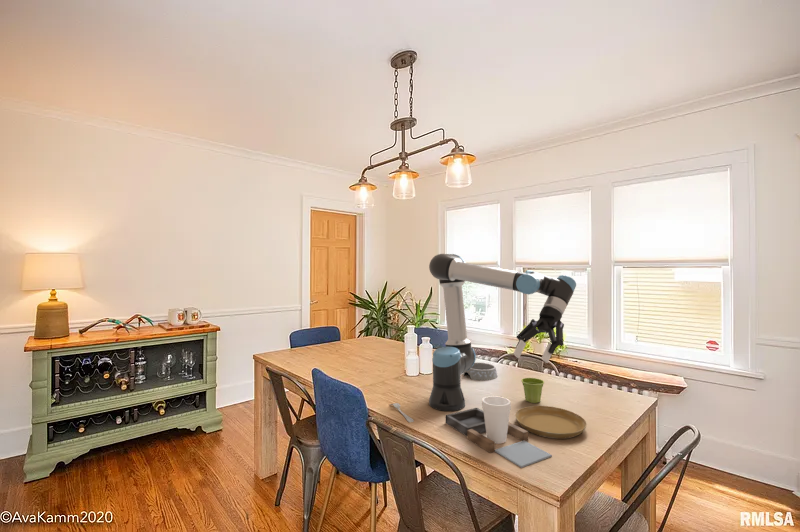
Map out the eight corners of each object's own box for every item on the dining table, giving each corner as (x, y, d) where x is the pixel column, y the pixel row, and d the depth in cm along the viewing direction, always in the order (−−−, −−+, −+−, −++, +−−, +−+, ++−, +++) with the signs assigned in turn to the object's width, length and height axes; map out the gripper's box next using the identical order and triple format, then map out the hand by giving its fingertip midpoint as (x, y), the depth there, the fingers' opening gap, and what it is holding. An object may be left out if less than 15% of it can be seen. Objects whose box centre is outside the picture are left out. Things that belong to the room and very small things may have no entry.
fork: (408, 429, 138) (408, 422, 138) (387, 405, 157) (388, 398, 157) (415, 428, 139) (415, 421, 139) (394, 404, 158) (394, 397, 158)
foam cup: (480, 442, 122) (479, 403, 122) (484, 431, 130) (484, 394, 130) (509, 447, 118) (509, 407, 118) (512, 435, 127) (511, 397, 127)
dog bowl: (483, 369, 210) (482, 360, 210) (504, 378, 193) (504, 368, 193) (457, 373, 203) (457, 363, 203) (477, 382, 187) (477, 372, 187)
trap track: (443, 423, 137) (443, 415, 137) (478, 414, 145) (478, 407, 145) (489, 452, 115) (489, 443, 115) (528, 440, 123) (528, 431, 123)
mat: (494, 451, 116) (494, 449, 116) (524, 441, 122) (524, 440, 122) (521, 467, 106) (521, 466, 106) (551, 456, 112) (551, 454, 112)
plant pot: (546, 405, 154) (546, 384, 154) (522, 404, 156) (522, 383, 156) (542, 397, 163) (542, 378, 163) (520, 396, 165) (520, 377, 165)
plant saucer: (550, 448, 118) (550, 438, 118) (501, 420, 140) (501, 411, 140) (602, 434, 128) (602, 424, 128) (549, 410, 150) (549, 402, 150)
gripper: (587, 317, 130) (564, 369, 123) (533, 316, 153) (511, 359, 145) (575, 305, 128) (551, 356, 121) (522, 305, 151) (499, 348, 143)
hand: (529, 358), depth 133 cm, fingers open, 13 cm apart
